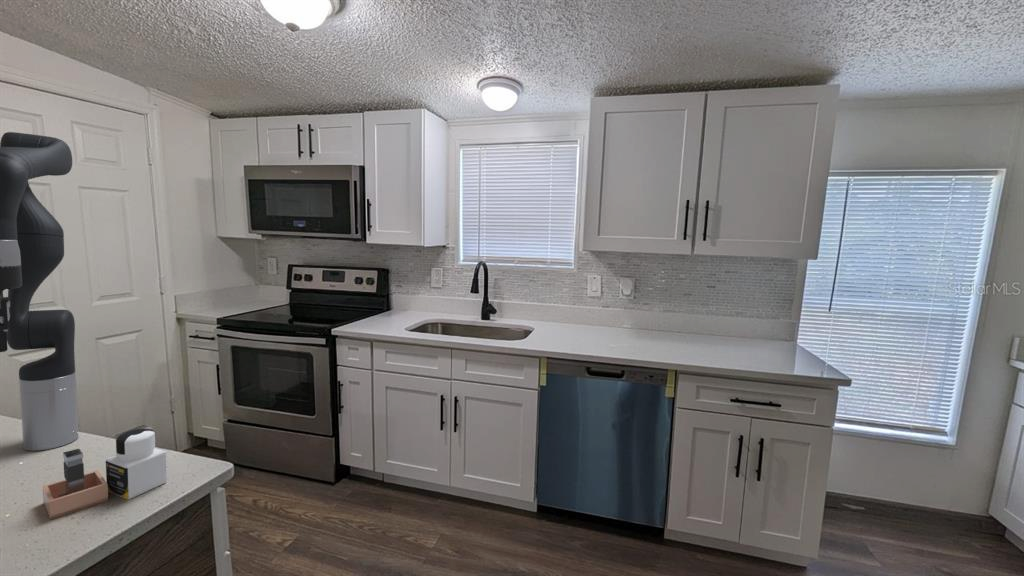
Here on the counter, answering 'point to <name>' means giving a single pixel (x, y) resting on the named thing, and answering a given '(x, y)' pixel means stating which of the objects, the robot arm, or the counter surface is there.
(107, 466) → the medicine bottle
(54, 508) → the tray
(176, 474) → the counter surface
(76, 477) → the metal pedestal tower
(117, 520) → the counter surface
